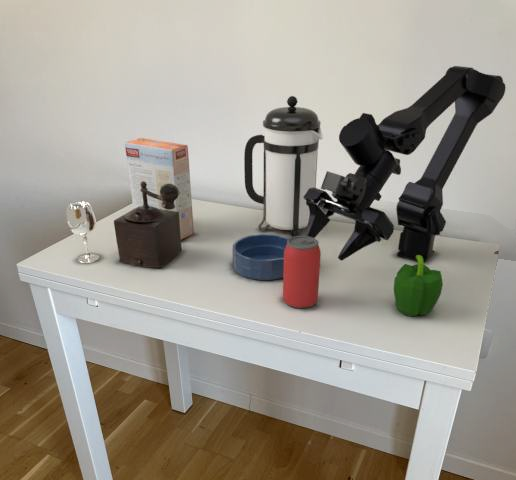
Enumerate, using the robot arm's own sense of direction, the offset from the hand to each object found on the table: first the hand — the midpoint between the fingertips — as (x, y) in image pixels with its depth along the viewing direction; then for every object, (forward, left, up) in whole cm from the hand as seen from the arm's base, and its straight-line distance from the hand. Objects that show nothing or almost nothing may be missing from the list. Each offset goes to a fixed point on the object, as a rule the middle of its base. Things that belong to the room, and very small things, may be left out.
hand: (321, 251), depth 100 cm
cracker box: (+46, -6, -9) cm, 48 cm away
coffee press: (+24, -25, -9) cm, 36 cm away
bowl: (+15, -4, -9) cm, 18 cm away
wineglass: (+49, +15, -9) cm, 52 cm away
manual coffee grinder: (+36, +6, -9) cm, 38 cm away
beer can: (+1, +5, -9) cm, 10 cm away
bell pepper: (-18, -4, -9) cm, 20 cm away
